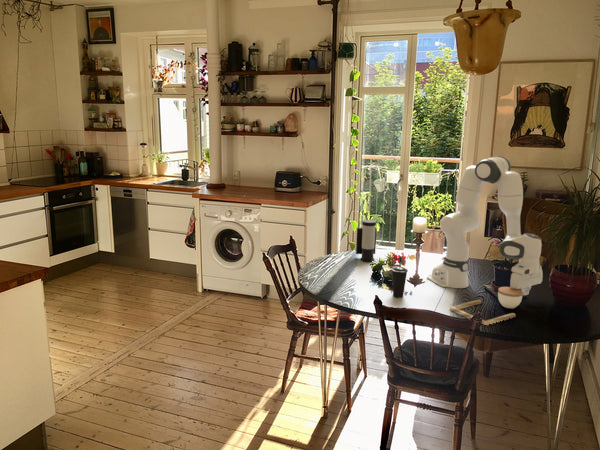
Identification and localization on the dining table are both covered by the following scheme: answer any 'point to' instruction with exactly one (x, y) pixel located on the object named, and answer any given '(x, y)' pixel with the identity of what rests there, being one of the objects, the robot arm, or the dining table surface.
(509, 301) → the lidded jar
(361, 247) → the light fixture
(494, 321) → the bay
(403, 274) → the drinking cup
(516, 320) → the dining table surface
